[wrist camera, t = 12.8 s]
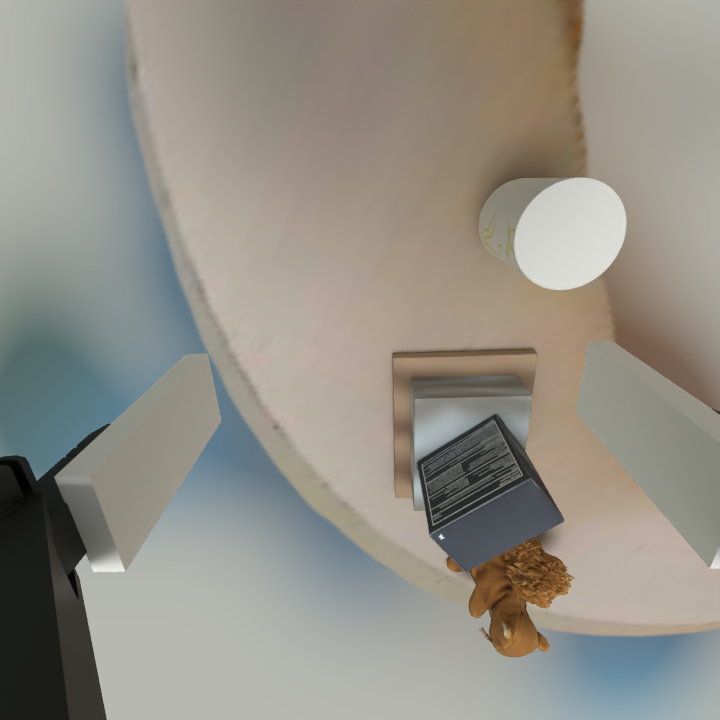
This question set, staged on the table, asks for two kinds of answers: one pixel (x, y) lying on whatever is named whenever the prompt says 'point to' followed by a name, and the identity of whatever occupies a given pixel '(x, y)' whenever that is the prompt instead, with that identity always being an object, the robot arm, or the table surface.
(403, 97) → the table surface
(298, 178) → the table surface
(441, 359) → the building base
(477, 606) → the stuffed squirrel
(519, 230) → the cup
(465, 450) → the small box
